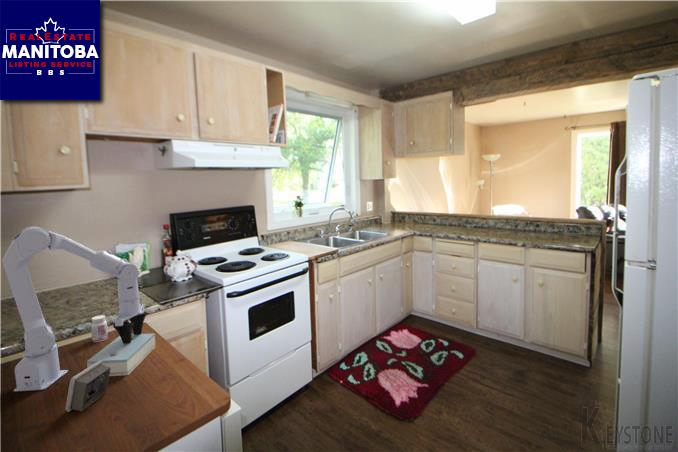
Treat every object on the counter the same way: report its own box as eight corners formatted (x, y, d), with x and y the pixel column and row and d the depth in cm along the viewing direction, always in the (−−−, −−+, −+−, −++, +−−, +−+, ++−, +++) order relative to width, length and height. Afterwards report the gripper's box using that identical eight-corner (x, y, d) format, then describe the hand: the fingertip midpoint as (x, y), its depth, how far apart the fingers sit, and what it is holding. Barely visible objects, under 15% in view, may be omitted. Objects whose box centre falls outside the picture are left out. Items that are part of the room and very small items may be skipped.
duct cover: (121, 337, 116) (121, 334, 116) (154, 335, 117) (154, 332, 117) (87, 364, 98) (86, 360, 98) (126, 362, 99) (126, 358, 99)
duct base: (128, 375, 100) (126, 362, 99) (88, 377, 99) (87, 364, 99) (155, 346, 118) (154, 335, 117) (122, 348, 117) (121, 337, 116)
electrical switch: (95, 390, 92) (95, 358, 91) (113, 393, 92) (113, 360, 91) (64, 413, 83) (63, 377, 82) (83, 416, 83) (82, 380, 81)
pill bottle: (100, 343, 121) (97, 320, 120) (89, 342, 122) (86, 319, 121) (111, 337, 126) (109, 315, 125) (100, 336, 127) (98, 314, 126)
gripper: (130, 305, 105) (133, 347, 106) (151, 291, 119) (154, 328, 121) (106, 306, 104) (110, 349, 106) (130, 292, 119) (134, 329, 120)
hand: (132, 338), depth 113 cm, fingers open, 6 cm apart
